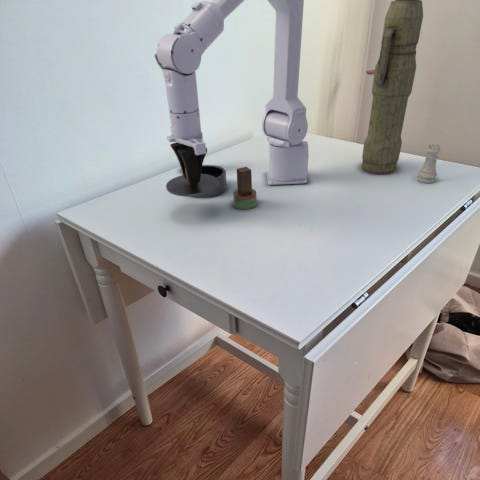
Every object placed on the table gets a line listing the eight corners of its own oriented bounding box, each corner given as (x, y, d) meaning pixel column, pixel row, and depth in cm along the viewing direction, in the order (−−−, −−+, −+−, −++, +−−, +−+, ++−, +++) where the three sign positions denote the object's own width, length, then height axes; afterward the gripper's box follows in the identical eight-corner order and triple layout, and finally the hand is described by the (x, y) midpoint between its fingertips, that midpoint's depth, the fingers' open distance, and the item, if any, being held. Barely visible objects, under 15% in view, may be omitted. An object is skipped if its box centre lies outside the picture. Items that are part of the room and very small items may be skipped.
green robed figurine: (405, 164, 110) (439, -4, 88) (384, 179, 103) (416, 0, 81) (373, 158, 115) (399, -4, 92) (351, 171, 108) (373, 0, 86)
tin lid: (219, 177, 94) (218, 155, 91) (218, 198, 86) (216, 175, 83) (169, 179, 94) (166, 158, 91) (163, 200, 86) (160, 177, 83)
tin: (226, 179, 108) (225, 164, 105) (226, 196, 100) (225, 180, 97) (186, 181, 108) (184, 166, 105) (182, 198, 100) (180, 182, 97)
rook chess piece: (415, 182, 101) (423, 148, 96) (416, 175, 104) (424, 142, 99) (435, 184, 100) (444, 149, 95) (436, 177, 103) (445, 143, 98)
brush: (230, 202, 97) (228, 168, 92) (250, 197, 98) (249, 163, 93) (240, 211, 93) (238, 175, 88) (260, 206, 95) (260, 170, 90)
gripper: (152, 105, 84) (163, 172, 93) (176, 122, 74) (186, 196, 83) (186, 100, 86) (193, 166, 95) (213, 115, 76) (219, 188, 85)
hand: (192, 180), depth 89 cm, fingers closed on tin lid, 2 cm apart
